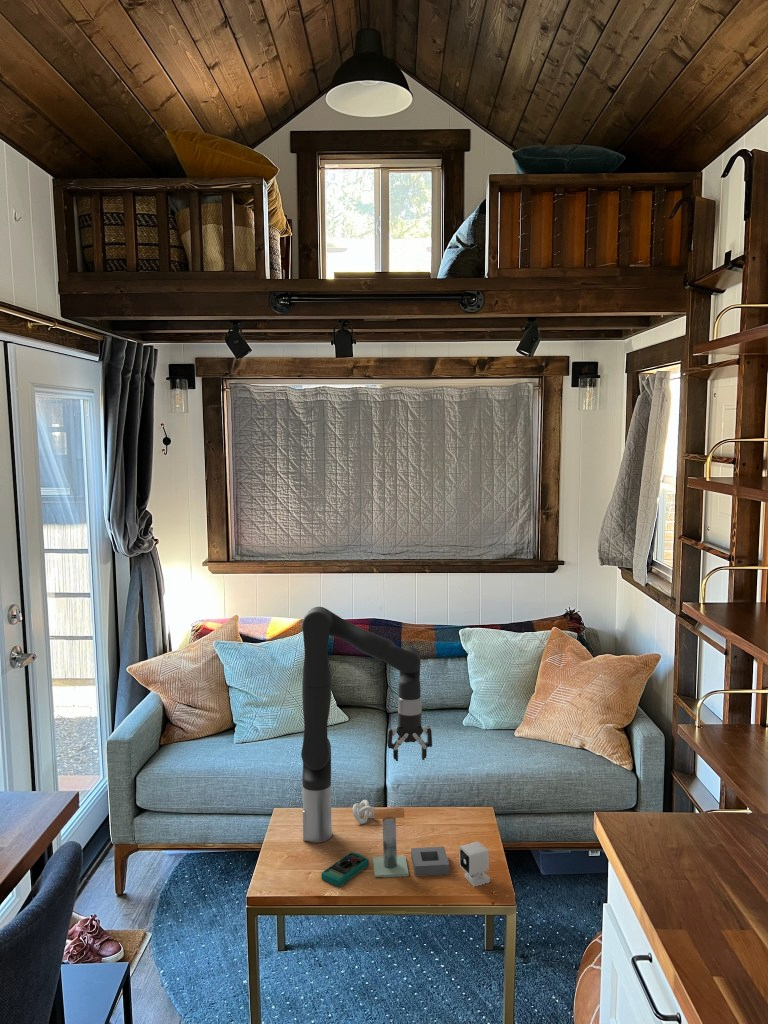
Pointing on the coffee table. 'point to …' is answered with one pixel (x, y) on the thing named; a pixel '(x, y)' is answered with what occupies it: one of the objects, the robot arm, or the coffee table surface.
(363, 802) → the knot
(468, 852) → the security camera
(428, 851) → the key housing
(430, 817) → the coffee table surface
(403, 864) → the pad
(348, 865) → the digital multimeter
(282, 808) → the coffee table surface
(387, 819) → the t key
